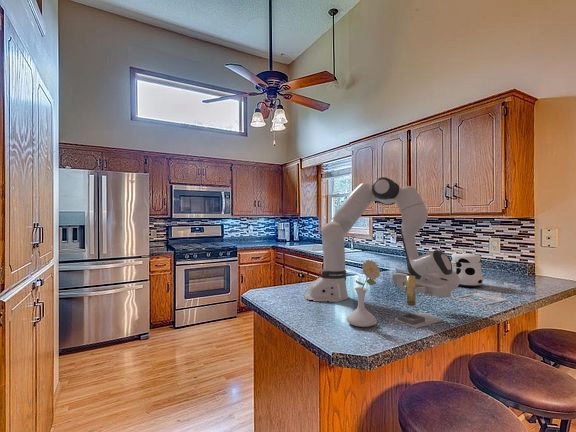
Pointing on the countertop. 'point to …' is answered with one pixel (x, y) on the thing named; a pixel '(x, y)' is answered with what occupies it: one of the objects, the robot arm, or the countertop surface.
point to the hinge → (399, 276)
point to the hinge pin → (411, 291)
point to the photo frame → (484, 297)
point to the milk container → (467, 269)
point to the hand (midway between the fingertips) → (409, 289)
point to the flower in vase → (361, 314)
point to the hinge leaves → (417, 319)
